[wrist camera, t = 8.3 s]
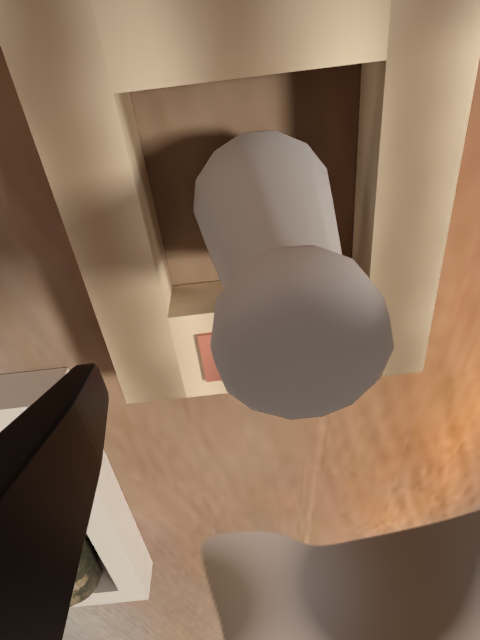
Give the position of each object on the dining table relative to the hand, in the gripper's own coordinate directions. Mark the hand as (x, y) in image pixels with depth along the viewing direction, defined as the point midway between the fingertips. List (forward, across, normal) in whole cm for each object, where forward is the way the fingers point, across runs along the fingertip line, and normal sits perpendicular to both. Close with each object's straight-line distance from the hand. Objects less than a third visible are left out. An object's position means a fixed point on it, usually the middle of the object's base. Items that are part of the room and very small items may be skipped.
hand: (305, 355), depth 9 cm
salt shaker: (+13, 0, 0) cm, 13 cm away
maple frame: (+13, 0, 0) cm, 13 cm away
